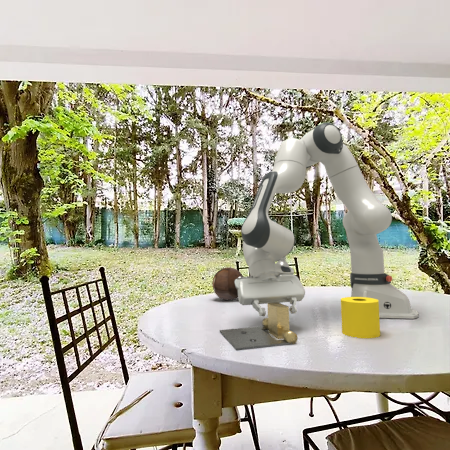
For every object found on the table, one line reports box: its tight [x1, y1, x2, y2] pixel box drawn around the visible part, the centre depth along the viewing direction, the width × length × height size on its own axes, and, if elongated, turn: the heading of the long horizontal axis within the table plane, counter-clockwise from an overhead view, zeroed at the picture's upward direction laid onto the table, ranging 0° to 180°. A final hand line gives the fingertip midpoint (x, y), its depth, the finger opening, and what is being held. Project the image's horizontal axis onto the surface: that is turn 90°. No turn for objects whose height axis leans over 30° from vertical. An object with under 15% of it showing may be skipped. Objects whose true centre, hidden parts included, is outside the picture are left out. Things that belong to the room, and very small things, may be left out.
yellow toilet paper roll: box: [340, 296, 381, 339], centre depth 95 cm, size 10×10×9 cm
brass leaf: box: [266, 302, 291, 340], centre depth 95 cm, size 7×4×8 cm, turn 15°
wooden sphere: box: [211, 266, 244, 301], centre depth 154 cm, size 15×15×15 cm
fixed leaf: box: [219, 317, 299, 351], centre depth 93 cm, size 18×16×3 cm
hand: (278, 313), depth 94 cm, fingers open, 8 cm apart
